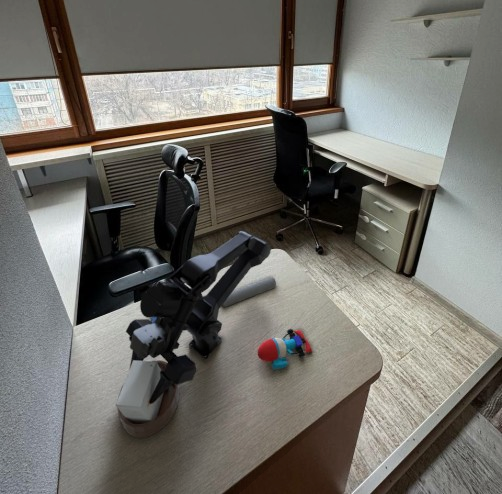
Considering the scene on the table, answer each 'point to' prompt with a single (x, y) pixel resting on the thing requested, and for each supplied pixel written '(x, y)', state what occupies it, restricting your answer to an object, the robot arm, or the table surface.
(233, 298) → the gray half cylinder
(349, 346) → the table surface
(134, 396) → the small box
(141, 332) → the robot arm
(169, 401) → the bowl
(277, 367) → the toy figure
